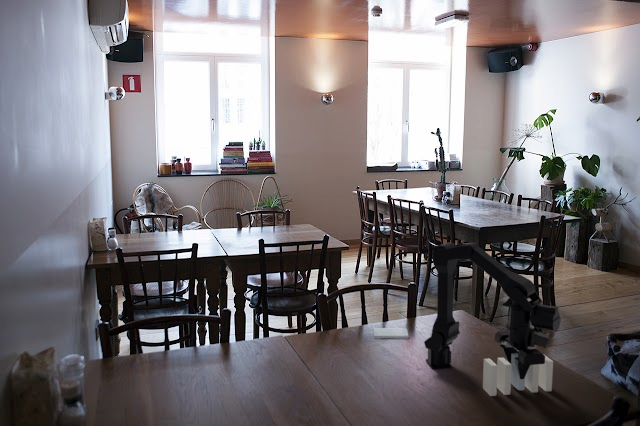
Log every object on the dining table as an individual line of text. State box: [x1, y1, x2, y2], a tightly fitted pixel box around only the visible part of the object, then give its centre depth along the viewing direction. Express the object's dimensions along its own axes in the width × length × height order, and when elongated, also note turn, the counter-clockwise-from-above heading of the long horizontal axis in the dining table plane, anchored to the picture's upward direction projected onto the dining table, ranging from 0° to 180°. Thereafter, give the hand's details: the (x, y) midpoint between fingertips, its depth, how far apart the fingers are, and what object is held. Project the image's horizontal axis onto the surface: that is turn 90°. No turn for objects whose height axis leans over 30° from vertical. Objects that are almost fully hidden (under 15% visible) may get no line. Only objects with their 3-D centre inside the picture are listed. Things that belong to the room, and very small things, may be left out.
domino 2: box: [496, 357, 512, 396], centre depth 160 cm, size 2×5×9 cm, turn 8°
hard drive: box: [372, 327, 410, 340], centre depth 205 cm, size 2×8×12 cm
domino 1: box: [482, 358, 498, 397], centre depth 159 cm, size 2×5×9 cm, turn 8°
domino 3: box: [511, 353, 526, 391], centre depth 160 cm, size 2×5×9 cm, turn 8°
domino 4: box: [525, 364, 539, 393], centre depth 161 cm, size 2×5×9 cm, turn 8°
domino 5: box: [538, 353, 554, 392], centre depth 162 cm, size 2×5×9 cm, turn 8°
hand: (517, 375), depth 160 cm, fingers closed on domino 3, 5 cm apart
